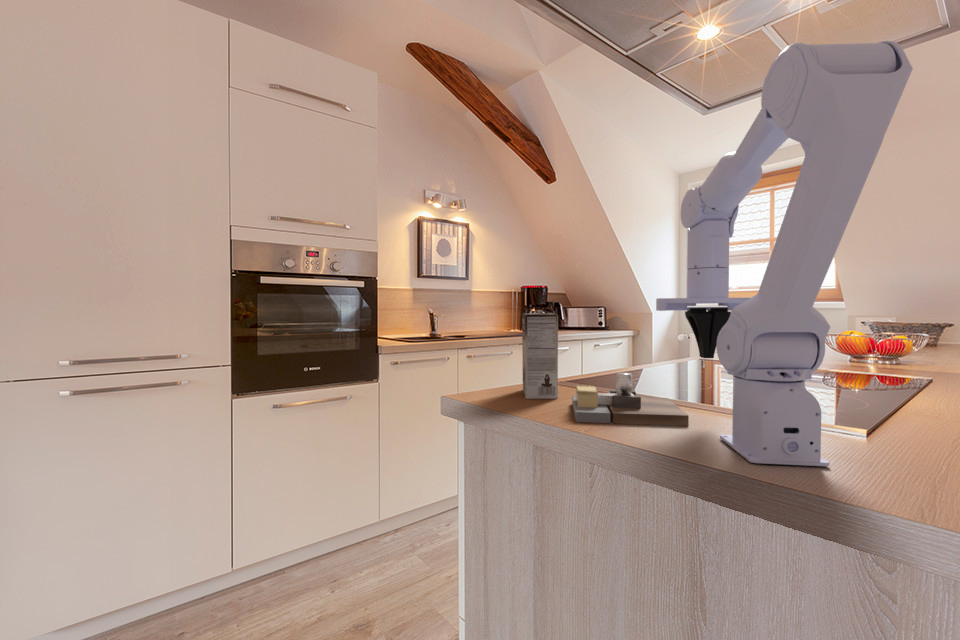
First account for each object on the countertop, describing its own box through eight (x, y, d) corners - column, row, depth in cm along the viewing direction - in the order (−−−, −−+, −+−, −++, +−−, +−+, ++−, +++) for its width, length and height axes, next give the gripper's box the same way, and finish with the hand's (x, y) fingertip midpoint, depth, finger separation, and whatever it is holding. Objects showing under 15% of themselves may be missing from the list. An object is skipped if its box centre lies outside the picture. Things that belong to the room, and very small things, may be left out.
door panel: (688, 425, 64) (688, 403, 64) (613, 423, 66) (613, 401, 66) (667, 406, 76) (667, 387, 76) (603, 404, 78) (603, 386, 78)
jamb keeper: (610, 423, 66) (610, 396, 66) (576, 421, 67) (576, 395, 67) (601, 404, 78) (601, 382, 78) (572, 404, 79) (572, 381, 79)
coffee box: (521, 389, 92) (521, 312, 92) (552, 389, 92) (552, 312, 91) (525, 399, 83) (524, 313, 82) (559, 399, 83) (559, 313, 82)
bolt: (635, 405, 70) (635, 375, 70) (577, 404, 71) (577, 374, 71) (632, 402, 72) (632, 372, 72) (576, 401, 74) (576, 371, 74)
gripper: (747, 270, 71) (746, 355, 71) (652, 271, 73) (651, 354, 73) (768, 266, 64) (767, 360, 64) (662, 268, 66) (662, 359, 66)
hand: (706, 357), depth 68 cm, fingers closed
